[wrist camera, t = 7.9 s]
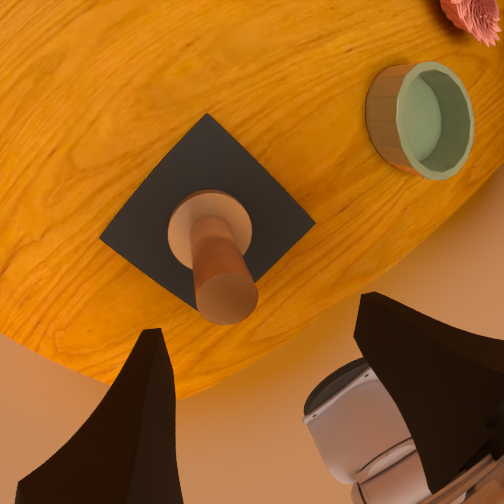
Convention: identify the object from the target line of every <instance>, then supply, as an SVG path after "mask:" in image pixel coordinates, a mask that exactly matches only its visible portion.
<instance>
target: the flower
mask: <svg viewBox="0 0 504 504" xmlns="http://www.w3.org/2000/svg"><path fill="white" fill-rule="evenodd" d="M439 3H440V4H441V7H442V11H443V12H444V13H445V14H446V17H447V19H448V20H451V21H452V22H453V24H454V26H457V28H461V29H462V30H463V31H466V32H468V33H470V34H472V35H473V36H474V37H475V38H476V39H477V40H478V42H479V43H480V41H481V40H482V41H483V42H484V43H485V44H486V45H487V46H488V47H489V43H491V44H492V45H494V46H495V47H496V44H495V42H494V40H493V39H495V40H499V41H500V39H499V37H498V35H497V34H496V32H498V31H501V29H500V28H499V27H498V26H497V21H498V20H500V19H499V17H498V16H499V15H500V14H499V12H498V11H499V10H498V6H497V2H496V1H495V0H441V1H440V2H439ZM488 42H489V43H488Z"/></svg>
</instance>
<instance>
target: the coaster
mask: <svg viewBox="0 0 504 504" xmlns="http://www.w3.org/2000/svg"><path fill="white" fill-rule="evenodd" d="M207 189H210V190H219V191H223V192H226V193H228V194H230V195H231V196H233V197H234V198H236V199H237V200H238V201H239V202H240V203H241V205H242V206H243V207H244V209H245V210H246V212H247V214H248V215H249V218H250V221H251V225H252V237H251V242H250V244H249V247H248V249H247V251H246V252H245V254H244V255H243V259H244V261H245V263H246V265H247V268H248V270H249V272H250V274H251V276H252V279H253V281H254V283H255V282H256V281H258V280H259V279H260V278H261V277H262V276H263V275H264V274H265V273H266V272H267V271H268V270H269V269H270V268H271V267H272V266H273V265H274V264H275V263H276V262H277V261H278V260H279V259H280V258H281V257H282V256H283V255H284V254H285V253H286V252H287V251H288V250H289V249H290V248H291V247H292V246H293V245H294V244H295V243H296V242H297V241H299V240H300V239H301V238H302V237H303V236H304V235H305V234H306V233H307V232H308V231H309V230H310V229H311V228H312V227H313V226H314V225H315V224H316V223H315V222H314V221H313V219H312V218H311V217H310V216H309V215H308V214H307V213H306V212H305V211H304V210H303V209H302V208H301V206H300V205H299V204H298V203H297V202H296V201H295V200H294V199H293V198H292V197H291V196H290V195H289V194H288V193H287V192H286V190H285V189H284V188H283V187H282V186H281V185H280V184H279V183H278V182H277V181H276V180H275V179H274V178H273V177H272V176H271V175H270V174H269V173H268V172H267V171H266V170H265V169H264V168H263V167H262V166H261V165H260V164H259V163H258V162H257V161H256V160H255V159H254V158H253V157H252V156H251V155H250V154H249V153H248V152H247V151H246V150H245V149H244V148H243V147H242V146H241V145H240V144H239V143H238V142H237V141H236V140H235V139H234V138H233V137H232V136H231V135H230V134H229V133H228V132H227V131H226V130H225V129H224V128H223V127H222V126H221V125H220V124H218V123H217V122H216V121H215V120H214V119H213V118H212V117H211V116H210V115H209V114H208V113H207V114H205V115H204V116H203V117H202V118H201V119H200V120H199V121H198V122H197V123H196V124H195V125H194V127H193V128H192V129H191V130H190V131H189V132H188V133H187V134H186V135H185V136H184V137H183V138H182V139H181V140H180V141H179V142H178V143H177V144H176V145H175V146H174V147H173V149H172V150H171V151H170V152H169V153H168V154H167V155H166V156H165V157H164V158H163V160H162V161H161V162H160V163H159V164H158V165H157V166H156V167H155V169H154V170H153V171H152V172H151V173H150V174H149V176H148V177H147V178H146V179H145V180H144V181H143V183H142V184H141V185H140V186H139V187H138V189H137V190H136V191H135V192H134V193H133V195H132V196H131V197H130V198H129V200H128V201H127V202H126V203H125V205H124V206H123V207H122V208H121V210H120V211H119V212H118V214H117V215H116V216H115V217H114V219H113V220H112V221H111V223H110V224H109V225H108V227H107V228H106V229H105V231H104V232H103V233H102V235H101V236H100V238H99V239H101V240H102V241H103V242H104V243H106V244H107V245H108V246H109V247H111V248H112V249H113V250H115V251H116V252H117V253H118V254H120V255H121V256H122V257H124V258H125V259H126V260H128V261H129V262H130V263H132V264H133V265H134V266H136V267H137V268H138V269H140V270H141V271H142V272H144V273H145V274H146V275H148V276H149V277H150V278H152V279H153V280H155V281H156V282H157V283H159V284H160V285H161V286H163V287H164V288H166V289H167V290H168V291H170V292H171V293H173V294H174V295H176V296H177V297H178V298H180V299H181V300H183V301H184V302H186V303H187V304H189V305H190V306H191V307H193V308H194V309H196V310H197V311H199V310H198V308H197V304H196V296H195V286H194V276H193V269H190V268H188V267H186V266H185V265H183V264H182V263H181V262H180V261H179V260H178V259H177V258H176V257H175V255H174V254H173V252H172V250H171V248H170V245H169V241H168V226H169V220H170V217H171V214H172V212H173V210H174V209H175V207H176V206H177V205H178V203H179V202H180V201H181V200H182V199H184V198H185V197H186V196H188V195H190V194H192V193H194V192H197V191H201V190H207Z"/></svg>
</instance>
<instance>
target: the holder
mask: <svg viewBox="0 0 504 504" xmlns="http://www.w3.org/2000/svg"><path fill="white" fill-rule="evenodd" d="M474 121H475V120H474V115H473V109H472V104H471V100H470V98H469V95H468V93H467V91H466V89H465V87H464V85H463V83H462V81H461V80H460V79H459V78H458V77H457V76H456V74H455V73H454V72H453V71H452V70H451V69H450V68H448V67H446V66H444V65H442V64H440V63H437V62H435V61H428V62H418V63H409V64H401V65H395V66H390V67H389V68H387V69H385V70H383V71H382V72H381V73H380V74H379V75H378V76H377V77H376V78H375V80H374V81H373V83H372V85H371V87H370V89H369V92H368V95H367V100H366V123H367V128H368V132H369V135H370V138H371V140H372V142H373V145H374V146H375V148H376V150H377V151H378V153H379V154H380V155H381V156H382V157H383V158H384V159H385V160H386V161H387V162H388V163H389V164H391V165H393V166H394V167H397V168H398V169H400V170H403V171H406V172H409V173H412V174H415V175H418V176H420V177H423V178H426V179H431V180H441V181H442V180H445V179H447V178H449V177H451V176H453V175H455V174H456V173H457V172H458V171H459V170H460V169H461V167H462V166H463V165H464V163H465V162H466V161H467V159H468V156H469V153H470V150H471V147H472V145H473V140H474V126H475V122H474Z"/></svg>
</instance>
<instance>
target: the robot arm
mask: <svg viewBox="0 0 504 504" xmlns="http://www.w3.org/2000/svg"><path fill="white" fill-rule="evenodd" d="M354 339H355V340H356V343H357V345H358V347H359V349H360V351H361V353H362V355H363V357H364V358H365V360H366V361H367V363H368V364H369V366H370V367H368V368H367V369H366V370H364V371H363V372H362V373H361V374H360V375H359V376H357V377H356V378H355V379H354V380H352V381H351V382H350V383H349V384H348V385H346V386H345V387H344V388H343V389H341V390H340V391H339V392H337V393H336V394H335V395H334V396H332V397H331V398H330V399H328V400H327V401H326V402H324V403H323V404H322V405H320V406H319V407H318V408H316V409H315V410H313V411H312V412H311V413H309V414H308V415H306V416H305V417H304V418H303V419H302V421H303V423H305V424H307V425H308V428H309V430H310V432H311V434H312V437H313V439H314V441H315V443H316V446H317V448H318V450H319V452H320V455H321V457H322V459H323V461H324V464H325V466H326V467H327V469H328V470H329V472H330V473H331V474H332V475H333V476H334V477H335V478H336V479H337V480H338V481H340V482H342V483H344V484H350V483H352V482H354V481H356V480H357V482H355V483H354V484H353V486H352V490H351V498H352V501H353V504H504V340H499V339H493V338H489V337H485V336H481V335H477V334H473V333H470V332H467V331H464V330H461V329H458V328H455V327H452V326H450V325H447V324H445V323H442V322H440V321H438V320H435V319H433V318H431V317H429V316H427V315H424V314H422V313H420V312H418V311H416V310H414V309H412V308H410V307H408V306H405V305H404V304H402V303H400V302H397V301H395V300H393V299H391V298H389V297H387V296H385V295H382V294H380V293H377V292H370V293H366V294H361V299H360V305H359V310H358V316H357V321H356V326H355V331H354ZM175 408H176V395H175V384H174V374H173V368H172V365H171V362H170V358H169V355H168V351H167V348H166V345H165V341H164V337H163V334H162V330H161V328H155V329H146V330H143V331H142V332H141V334H140V336H139V338H138V340H137V342H136V344H135V346H134V347H133V349H132V351H131V353H130V355H129V357H128V359H127V360H126V362H125V364H124V366H123V367H122V369H121V371H120V373H119V374H118V376H117V378H116V379H115V381H114V382H113V384H112V386H111V387H110V389H109V390H108V392H107V393H106V395H105V396H104V398H103V399H102V401H101V402H100V404H99V405H98V406H97V408H96V409H95V410H94V412H93V413H92V414H91V415H90V417H89V418H88V419H87V420H86V422H85V423H84V424H83V425H82V426H81V427H80V429H79V430H78V431H77V432H76V433H75V434H74V435H73V436H72V437H71V439H70V440H69V441H68V442H67V443H66V444H65V445H63V446H62V447H61V448H60V449H59V450H58V451H57V452H56V453H55V454H54V455H53V456H52V457H50V458H49V460H47V461H46V462H45V463H44V464H42V465H41V466H40V467H38V468H37V469H35V470H34V471H33V472H31V473H30V474H29V475H27V476H26V477H25V478H23V479H22V480H20V481H19V482H18V486H17V491H16V498H15V504H184V503H183V498H182V493H181V487H180V481H179V475H178V468H177V461H176V448H175V447H176V441H175V440H176V439H175V411H176V410H175ZM464 498H465V499H464Z"/></svg>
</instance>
